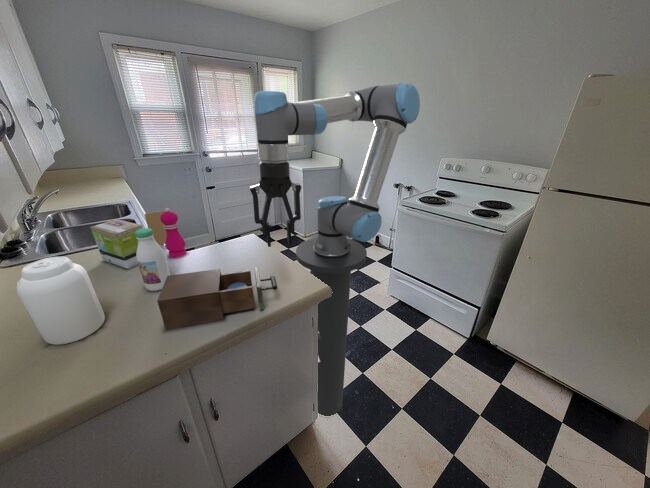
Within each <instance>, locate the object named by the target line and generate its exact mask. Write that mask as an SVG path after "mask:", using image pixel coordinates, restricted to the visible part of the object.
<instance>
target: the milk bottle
mask: <svg viewBox="0 0 650 488" xmlns="http://www.w3.org/2000/svg"><path fill="white" fill-rule="evenodd" d="M142 228H143V227H142ZM135 236H136V239H138V247H137V252H136V257H137V261H138V265H137V266H138V268H139V272H140V274H141V277H142V280H143V284H144V287H145V289H146V290H148V291H151V292H155V291H156V292H158V291H161V290H162V288H163V286H164V283H165V281H166V278H167V276H169V275H171V273H170V268H169V265H168V262H167V258H166V255H165V252H164V250H163V248H162V246H161V245H159V244H158V243H157V242H156V241H155V239H154V238H153V236H154V235H153V231H152V229H150V228H148V227H144V228H143V229H139V230H137V231H135Z"/></svg>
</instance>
